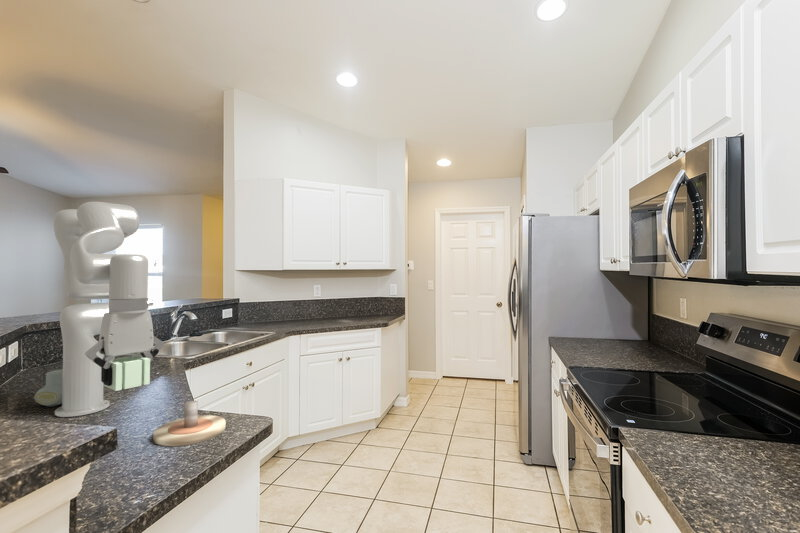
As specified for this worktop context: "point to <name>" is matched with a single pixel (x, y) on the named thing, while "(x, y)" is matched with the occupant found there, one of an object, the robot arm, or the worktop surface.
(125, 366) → the collar
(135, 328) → the robot arm
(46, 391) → the air freshener
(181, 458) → the worktop surface
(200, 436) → the post base
